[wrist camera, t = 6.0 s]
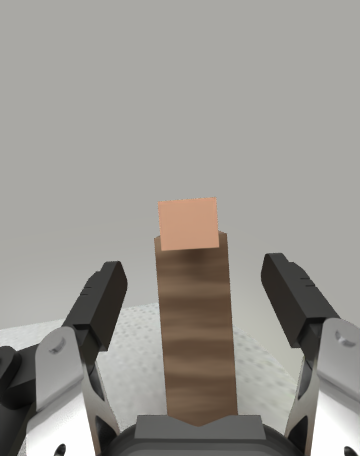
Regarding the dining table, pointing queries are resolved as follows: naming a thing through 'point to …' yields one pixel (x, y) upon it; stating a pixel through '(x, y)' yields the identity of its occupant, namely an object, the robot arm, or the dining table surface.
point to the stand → (197, 332)
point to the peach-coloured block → (188, 224)
